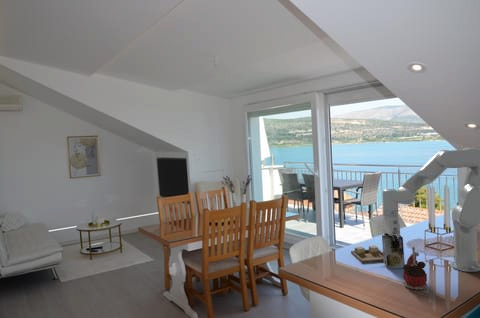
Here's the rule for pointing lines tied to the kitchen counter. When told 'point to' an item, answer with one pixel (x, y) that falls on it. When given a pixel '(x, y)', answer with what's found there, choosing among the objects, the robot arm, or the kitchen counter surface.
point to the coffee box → (392, 252)
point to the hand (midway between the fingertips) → (391, 245)
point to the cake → (414, 272)
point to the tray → (369, 257)
